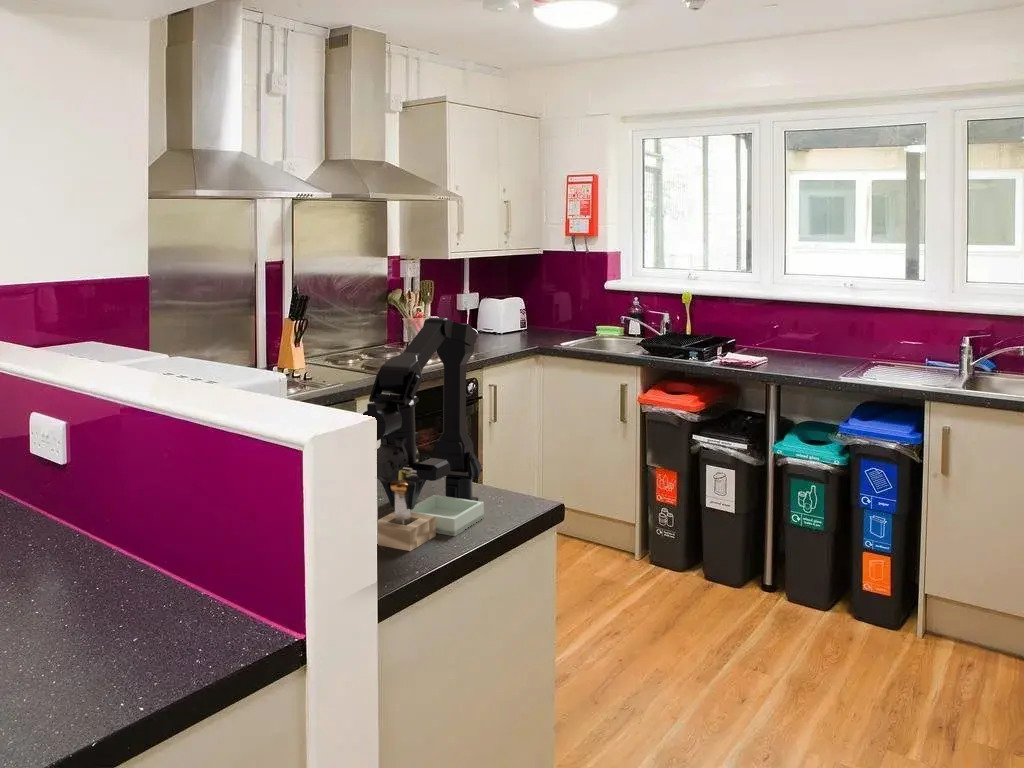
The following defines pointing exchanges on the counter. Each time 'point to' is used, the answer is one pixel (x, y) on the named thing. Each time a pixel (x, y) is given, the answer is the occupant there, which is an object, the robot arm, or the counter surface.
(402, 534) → the block
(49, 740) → the counter surface
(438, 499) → the sage tray
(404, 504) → the orange-capped jar
